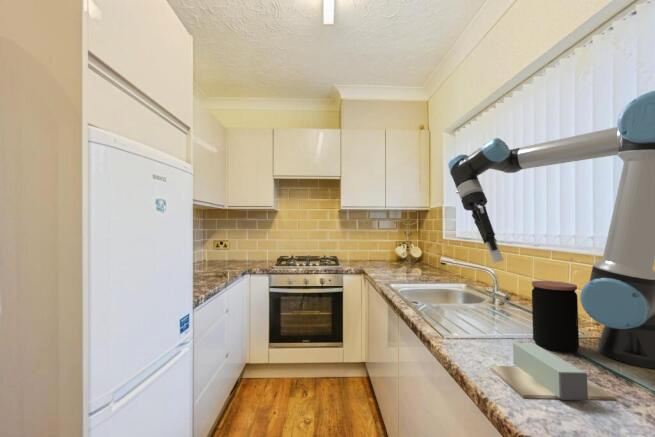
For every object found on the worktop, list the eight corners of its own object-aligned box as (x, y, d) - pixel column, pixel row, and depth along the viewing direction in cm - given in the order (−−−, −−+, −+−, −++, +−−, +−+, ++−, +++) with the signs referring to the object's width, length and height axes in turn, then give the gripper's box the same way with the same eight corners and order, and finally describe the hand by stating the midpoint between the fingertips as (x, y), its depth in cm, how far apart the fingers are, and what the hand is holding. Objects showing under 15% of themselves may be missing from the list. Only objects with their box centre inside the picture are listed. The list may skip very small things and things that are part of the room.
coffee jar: (588, 355, 81) (586, 287, 82) (544, 352, 83) (542, 286, 84) (565, 341, 92) (563, 281, 92) (526, 338, 94) (525, 280, 94)
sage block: (533, 343, 75) (587, 373, 59) (534, 363, 75) (587, 399, 59) (513, 342, 75) (560, 373, 59) (513, 363, 75) (561, 399, 59)
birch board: (566, 369, 73) (566, 367, 73) (615, 399, 60) (615, 396, 60) (489, 368, 73) (489, 365, 73) (522, 397, 60) (522, 394, 60)
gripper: (460, 206, 111) (483, 268, 101) (460, 190, 100) (487, 258, 89) (482, 200, 109) (508, 263, 99) (485, 183, 98) (515, 252, 87)
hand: (498, 261), depth 94 cm, fingers closed
